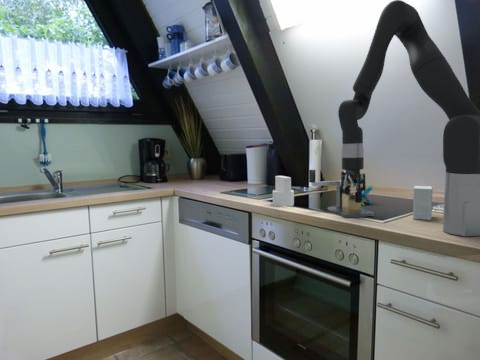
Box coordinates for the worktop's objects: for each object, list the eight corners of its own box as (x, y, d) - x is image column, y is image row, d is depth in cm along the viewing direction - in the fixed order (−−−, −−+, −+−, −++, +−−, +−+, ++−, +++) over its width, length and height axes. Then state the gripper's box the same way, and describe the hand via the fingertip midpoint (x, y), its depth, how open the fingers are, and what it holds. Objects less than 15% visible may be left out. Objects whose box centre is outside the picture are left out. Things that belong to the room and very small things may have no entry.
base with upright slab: (269, 203, 154) (268, 176, 153) (287, 202, 157) (287, 175, 156) (278, 207, 146) (278, 178, 144) (297, 205, 149) (297, 177, 148)
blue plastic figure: (359, 197, 157) (374, 182, 150) (369, 207, 155) (384, 193, 148) (346, 203, 150) (361, 189, 143) (356, 214, 147) (371, 200, 141)
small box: (431, 220, 117) (432, 189, 116) (412, 219, 120) (413, 188, 119) (430, 215, 124) (432, 185, 123) (413, 214, 127) (414, 185, 126)
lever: (343, 184, 139) (344, 168, 139) (347, 185, 136) (347, 168, 136) (307, 185, 137) (307, 169, 136) (310, 186, 134) (310, 170, 133)
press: (374, 216, 125) (374, 190, 124) (344, 218, 124) (345, 191, 123) (353, 207, 141) (353, 184, 140) (326, 209, 139) (326, 185, 138)
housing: (361, 211, 128) (361, 191, 128) (348, 212, 128) (348, 192, 127) (354, 208, 133) (355, 189, 133) (342, 209, 133) (342, 190, 132)
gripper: (372, 156, 122) (372, 203, 123) (353, 155, 136) (353, 197, 137) (352, 157, 120) (352, 204, 122) (334, 156, 134) (334, 198, 136)
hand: (352, 200), depth 130 cm, fingers open, 8 cm apart
